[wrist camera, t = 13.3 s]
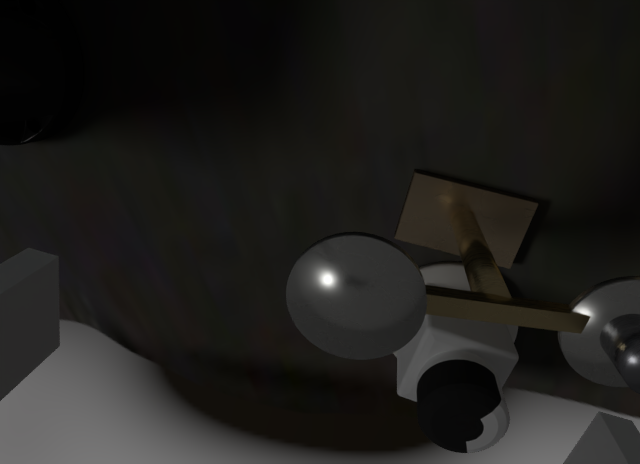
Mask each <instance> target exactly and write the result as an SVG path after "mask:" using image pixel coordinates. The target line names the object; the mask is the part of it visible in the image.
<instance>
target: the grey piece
mask: <svg viewBox="0 0 640 464" xmlns="http://www.w3.org/2000/svg"><path fill="white" fill-rule="evenodd" d="M425 285H430V284H425ZM430 286H433V285H430ZM518 359H519V356H518V353H517V351H516V348H515V345H514V343H513V340H512V338H511V335H510V333H509V330H508V327H507V325H506V324H500V323H492V322H484V321H476V320H468V319H460V318H452V317H444V316H436V315H428V314H426V315H425V318H424V321H423V324H422V326H421V328H420V329H419V331H418V332H417V334H416V335H415V336H414V337H413V339H412V340H411V341H410V342H409V343H407V344H406V345H405V346H404V347H402V348H401V349H399V350H397V393H398V395H399V396H401V397H404V398H407V399H410V400H413V401H416V402H417V413H418V422H419V425H420V427H421V430H422V431H423V433H424V434H425V435H426V436H427V437H428V438H429V439H430V440H431V441H432V442H434V443H435V444H437V445H438V446H440V447H442V448H444V449H447V450H450V451H454V452H460V453H473V452H479V451H482V450H485V449H487V448H489V447H491V446H493V445H494V444H496V443H497V442H498V441H499V440H500V439H501V438H502V437H503V436H504V434H505V433H506V431H507V429H508V426H509V420H510V417H509V412H508V408H507V405H506V402H505V398H504V395H503V392H502V387H503V385H504V383H505V382H506V380H507V378H508V376H509V375H510V373H511V371H512V370H513V368H514V366H515V365H516V363H517V361H518Z"/></svg>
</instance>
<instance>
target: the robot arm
mask: <svg viewBox="0 0 640 464" xmlns="http://www.w3.org/2000/svg"><path fill="white" fill-rule="evenodd" d="M83 79H84V71H83V60H82V54H81V50H80V46H79V42H78V39H77V36H76V33H75V31H74V28H73V26H72V24H71V22H70V20H69V18H68V16H67V14H66V12H65V11H64V9H63V8H62V6H61V4H60V3H59V2H58V0H0V145H21V144H26V143H30V142H34V141H38V140H42V139H45V138H48V137H50V136H52V135H54V134H56V133H57V132H59V131H60V130H61V129H63V128H64V127H65V126H66V125H67V124H68V122H69V121H70V120H71V118H72V117H73V115H74V114H75V112H76V110H77V107H78V105H79V102H80V99H81V95H82V90H83ZM59 337H60V336H59V256H55V255H52V254H48V253H45V252H42V251H38V250H35V249H31V248H27V249H25V250H24V251H22V252H20V253H18V254H17V255H15V256H13V257H11V258H10V259H8V260H6V261H4V262H3V263H1V264H0V401H1V400H2V399H3V398H4V397H5V396H6V395H7V394H8V393H9V392H10V391H11V390H13V389H14V388H15V387H16V386H17V385H18V384H19V383H20V382H21V381H22V380H23V379H24V378H25V377H27V376H28V375H29V374H30V373H31V372H32V371H33V370H34V369H35V368H36V367H37V366H38V365H40V364H41V363H42V362H43V361H44V360H45V359H46V358H47V357H48V356H49V355H50V354H51V353H52V352H54V351H55V349H57V348H58V347H59V345H60V341H59V340H60V338H59ZM563 464H640V433H639V431H638V430H637V428H636V427H635V425H634V423H633V422H632V421H630V420H627V419H623V418H620V417H616V416H613V415H609V414H606V413H603V412H598V414H597V415H596V416H595V418H594V419H593V421H592V422H591V424H590V425H589V427H588V428H587V430H586V431H585V433H584V434H583V436H582V437H581V438H580V440H579V441H578V443H577V444H576V446H575V447H574V449H573V450H572V452H571V453H570V454H569V456H568V458H567V459H566V460H565V462H564V463H563Z"/></svg>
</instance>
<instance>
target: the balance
mask: <svg viewBox="0 0 640 464" xmlns="http://www.w3.org/2000/svg"><path fill="white" fill-rule="evenodd" d="M537 206H538V203H537V201H536V200H535V199H532V198H528V197H524V196H520V195H516V194H512V193H508V192H504V191H500V190H496V189H492V188H488V187H484V186H480V185H476V184H472V183H468V182H464V181H460V180H456V179H452V178H448V177H444V176H440V175H436V174H432V173H428V172H424V171H420V170H416V169H414V172H413V176H412V179H411V182H410V185H409V189H408V192H407V195H406V198H405V202H404V205H403V208H402V211H401V214H400V218H399V221H398V224H397V227H396V231H395V239H398V240H402V241H406V242H410V243H413V244H417V245H421V246H425V247H429V248H432V249H436V250H440V251H444V252H448V253H452V254H455V255H459V256H461V259H462V263H463V266H464V269H465V273H466V276H467V280H468V283H469V286H470V290H471V291H466V290H459V289H452V288H445V287H438V286H430V285H425V282H424V279H423V276H422V273H421V271H420V269H419V267H418V266H417V264H416V263H415V262H414V260H413V259H412V258H411V257H410V256H409V255H408V253H407V252H405V251H404V250H403V249H402V248H401V247H399V246H398V245H396V244H395V243H393V242H391V241H389V240H387V239H385V238H383V237H380V236H377V235H374V234H369V233H364V232H343V233H337V234H333V235H330V236H327V237H325V238H323V239H320V240H318V241H317V242H315V243H314V244H312V245H311V246H310V247H308V248H307V249H306V250H305V251H304V252H303V253H302V254H301V255H300V257H299V258H298V260H297V261H296V263H295V265H294V267H293V269H292V271H291V273H290V275H289V279H288V282H287V288H286V300H287V306H288V310H289V313H290V315H291V318H292V320H293V322H294V323H295V325H296V327H297V328H298V329H299V331H300V332H301V333H302V334H303V335H304V336H305V337H306V338H307V339H308V340H309V341H310V342H311V343H313V344H314V345H315V346H317V347H319V348H320V349H322V350H324V351H326V352H328V353H330V354H333V355H336V356H339V357H343V358H348V359H361V360H365V359H374V358H379V357H383V356H386V355H389V354H391V353H393V352H395V351H397V350H399V349H401V348H402V347H404V346H405V345H406V344H407V343H409V342H410V341H411V340H412V339H413V337H414V336H415V335H416V334H417V332H418V331H419V329H420V328H421V326H422V324H423V321H424V318H425V315H426V314H428V315H436V316H444V317H452V318H460V319H468V320H476V321H484V322H492V323H500V324H508V325H516V326H523V327H531V328H539V329H547V330H555V331H558V341H559V345H560V348H561V351H562V353H563V355H564V357H565V358H566V360H567V362H568V363H569V365H570V366H571V367H572V368H573V369H574V370H575V371H576V372H577V373H579V374H580V375H581V376H583V377H585V378H586V379H588V380H590V381H593V382H595V383H598V384H602V385H606V386H613V387H629V388H631V389H632V390H633V391H635V392H636V393H639V394H640V276H626V277H618V278H614V279H610V280H607V281H604V282H601V283H599V284H596V285H594V286H592V287H590V288H589V289H587V290H585V291H584V292H583V293H581V294H580V295H579V296H577V297H576V298H575V299H574V300H573V301H572V302H571V303H570V305H568V304H561V303H553V302H546V301H539V300H532V299H524V298H517V297H511V295H510V293H509V291H508V288H507V286H506V284H505V282H504V279H503V277H502V275H501V273H500V271H499V268H498V266H501V267H505V268H509V269H510V267H511V265H512V263H513V261H514V258H515V256H516V254H517V252H518V249H519V247H520V245H521V243H522V240H523V238H524V236H525V233H526V231H527V229H528V227H529V224H530V222H531V220H532V218H533V215H534V213H535V211H536V209H537Z"/></svg>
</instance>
